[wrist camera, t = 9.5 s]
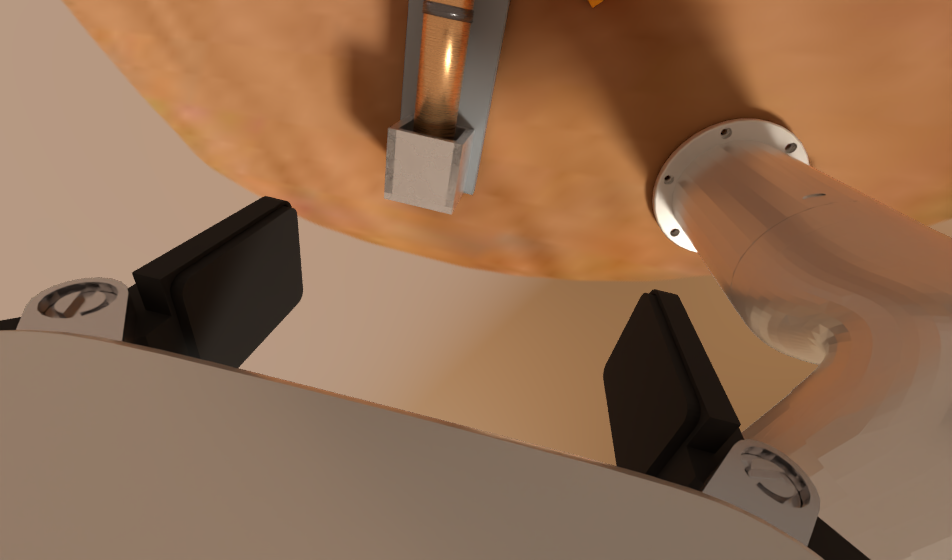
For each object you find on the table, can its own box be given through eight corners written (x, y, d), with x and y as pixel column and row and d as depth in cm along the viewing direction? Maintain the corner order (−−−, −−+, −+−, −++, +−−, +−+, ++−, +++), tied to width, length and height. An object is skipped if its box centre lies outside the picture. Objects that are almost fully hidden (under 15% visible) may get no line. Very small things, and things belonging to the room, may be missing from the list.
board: (533, -121, 28) (532, -127, 27) (474, 190, 41) (472, 194, 40) (424, -144, 28) (419, -150, 27) (400, 173, 41) (396, 176, 40)
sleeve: (474, 129, 36) (462, 145, 31) (464, 191, 40) (451, 214, 35) (410, 114, 37) (388, 127, 32) (404, 177, 40) (384, 198, 35)
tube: (495, -103, 27) (488, -121, 24) (459, 134, 36) (450, 144, 33) (441, -114, 27) (427, -133, 24) (418, 125, 36) (406, 134, 33)
